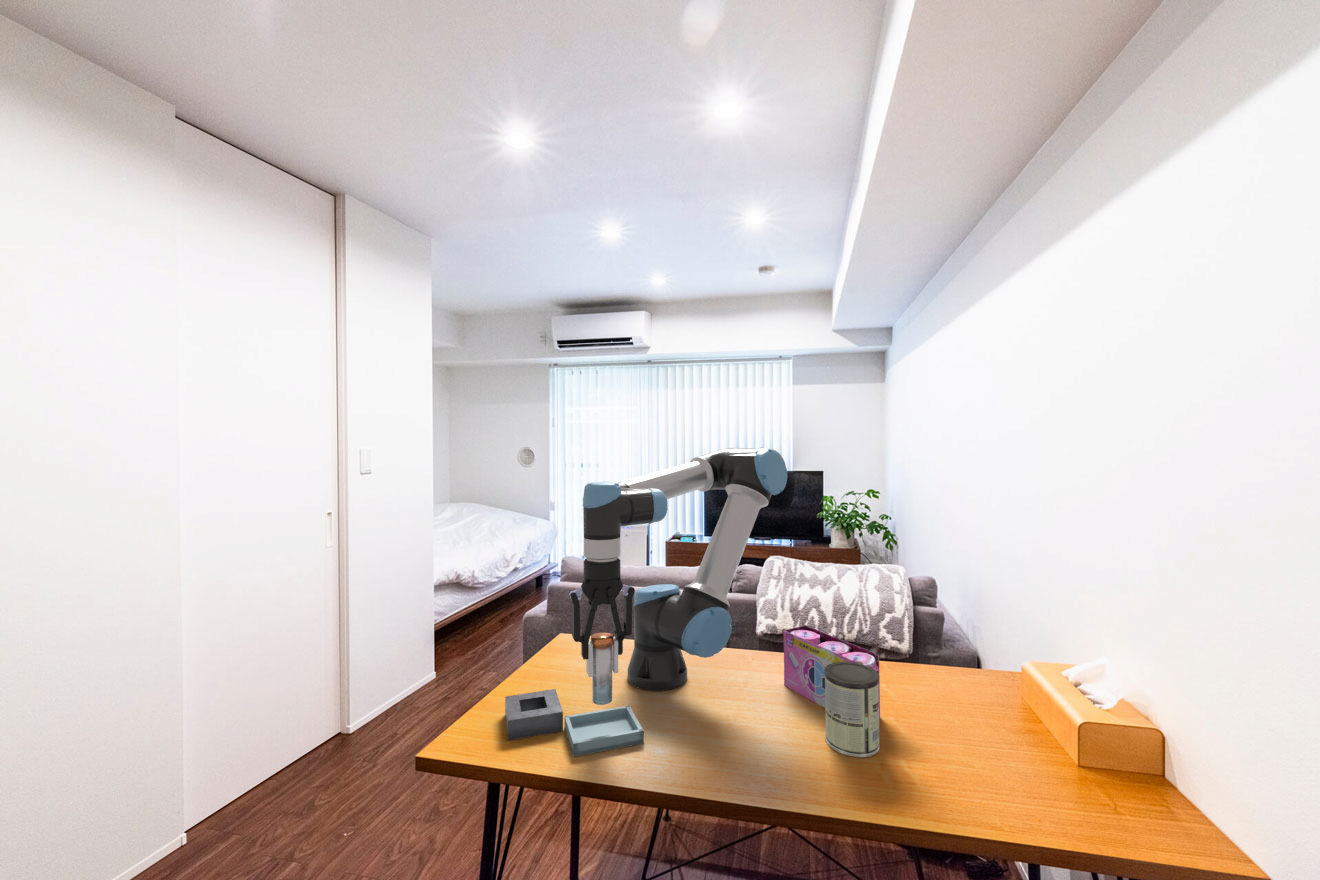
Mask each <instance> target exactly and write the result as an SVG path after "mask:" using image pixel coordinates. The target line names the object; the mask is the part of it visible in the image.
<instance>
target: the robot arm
mask: <svg viewBox="0 0 1320 880" xmlns="http://www.w3.org/2000/svg"><path fill="white" fill-rule="evenodd" d="M787 482H788V470H787V466H786V462H785V460H784V458H783V456H782V455H781V453H779V451H778V450H775V449H772V448H764V447H759V448H758V447H757V448H753V447H751V448H749V447H745V448H743V447H728V448H724V449H720V450H716V451H712V452H708V453H706V454H702V455H699V456H695V457H693V458H692V459H691V460H690V461H689V462H687V463H685V464H679V465H676V466H673V467H669V468H666V469H663V470H662V469H661V470H658V471H655V472H651V473H648V474H643V475H640V476H637V477H633V478H629V479H624V480H621V481H618V482H617V481H593V482H587V484H585V486H584V488H583V496H582V507H583V509H582V510H583V511H582V512H583V557H584V560H583V581H582V583H581V586H580V587H579V588H577V589H575V590H574V589H570V590H569V591H568V595H569V598H570V601H571V637H572V638H573V641H574V642H576V643H580V644H581V646H580V647H581V653H580V655H581V657H582V659H583V660H585V661H586V670H585V671H586V675H587V676H588V678H591V677H593V644H592V642H591V636H592V629H593V626H594V625H593V624H594V621H595V615H596V612H597V610H598V606H600V605H607V607H608V611H609V615H610V619H611V623H612V626H613V627H612V628H613V632H614V644H613V645H612V673H614V674H619V656H620V655H623V652H624V646H623V645H624V643H623V642H624V640H625V637H629V636H631V635H632V633H633V636H634V637H633V639H634V641H633V643H634V646H633V650H632V654H631V657H630V661H629V664H628V667H627V681H628V682H629V684H630V685H632V686H633V687H635V688H637V689H640V690H645V691H653V692H657V691H658V692H659V691H669V690H673V689H677V688H679V687H682V686H683V685H684V684H685V683H686V682H687V680H688V668H687V665H686V661H685V658H684V654H683V652H685V653H687V654H689V655H691V656H696V657H700V658H703V659H704V658H711V657H713V656H715V655H716V654H719V653H720V652H721V651H722V650H723V649H724V648H725V646H726V645H727V644H728V642H729V640H730V637H731V634H732V631H733V630H732V629H733V625H732V623H733V621H732V617H731V615H730V613H729V612H728V611H729V609H730V603H729V601H728V597H727V595H728V593H729V591H730V589H731V586H732V583H733V580H734V577H735V575H736V573H737V569H738V567H739V565H740V562H741V559H742V556H743V554H744V551H745V548H746V546H747V543H748V541H749V538H750V535H751V533H752V530H753V528H754V525H755V522H756V520H757V518H758V515H759V512H760V510H761V509H762V508H765V507H767V506H768V505H769V503H770V501H771V497H772V495H773V496H777V495H779V494H780V493H782V492H783V491H784V489H785V488H786V485H787ZM711 490H725V492H726V493H727V498H726V501H725V503H724V506H723V509H722V511H721V513H720V515H719V517H718V518H719V519H718V521H717V523H716V526H715V528H714V530H713V533H712V535H711V538H710V540H709V542H708V545H707V548H706V550H705V552H704V554H703V558H702V560H701V562H700V565H699V567H698V569H697V572H696V575H695V577H694V579H693V581H692V582H691V583H689V584H685V585H684V587H683V589H682V592H681V590H680V587H679V585H676V584H671V583H668V584H667V583H665V584H662V583H661V584H653V585H648V586H647V585H646V586H643V587H641V588H638V589H637V590H636V589H635V587H634V586H632V584H624V583H623V581H622V580H621V559H620V557H621V531H622V530H621V529H622V528H621V527H627V526H635V525H645V524H649V525H651V524H653V523H659V522H661V521H663V520H664V519H665V517H666V516H667V513H668V507H669V505H668V503H669V502H668V500H669V499H672V498H677V497H679V496H682V495H686V494H689V493H691V492H695V491H699V492H702V493H703V492H707V491H711ZM620 592H621V593H622V596H623V598H622V601H623V602H622V603H623V607H622V608H623V611H622V613H623V615H622V620H623V621H622V622H623V623H622V624H621V619H620V615H619V612H618V607H617V606H618V605H617V601H616V598H617V597H618V595H619V594H620ZM582 595H585V597H586V598H587V599H588V602H587V607H586V608H587V609H586V614H585V618H584V623H583V626H582V632H581V609H580V608H581V607H580V606H581V605H580V601H581V600H582ZM682 651H683V652H682Z"/></svg>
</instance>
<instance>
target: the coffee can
mask: <svg viewBox="0 0 1320 880" xmlns="http://www.w3.org/2000/svg"><path fill="white" fill-rule="evenodd" d="M824 673H825V708H824V709H825V742H826V745H828V746H829V747H830V749H832V750H833V751H835V752H837V753H838V754H842V755H844V756H848V757H853V758H868V757H872V756H874V755H876V754H878V753H879V751H880V750H881V749H880V748H881V745H880V717H879V679H880V673H879V674H878V672H877V671H875V670H874V669H872V668H870V667H868V666H865V665H862V664H858V663H852V662H836V663H831V664H829V665H827V666H826V667H825V669H824Z"/></svg>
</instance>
